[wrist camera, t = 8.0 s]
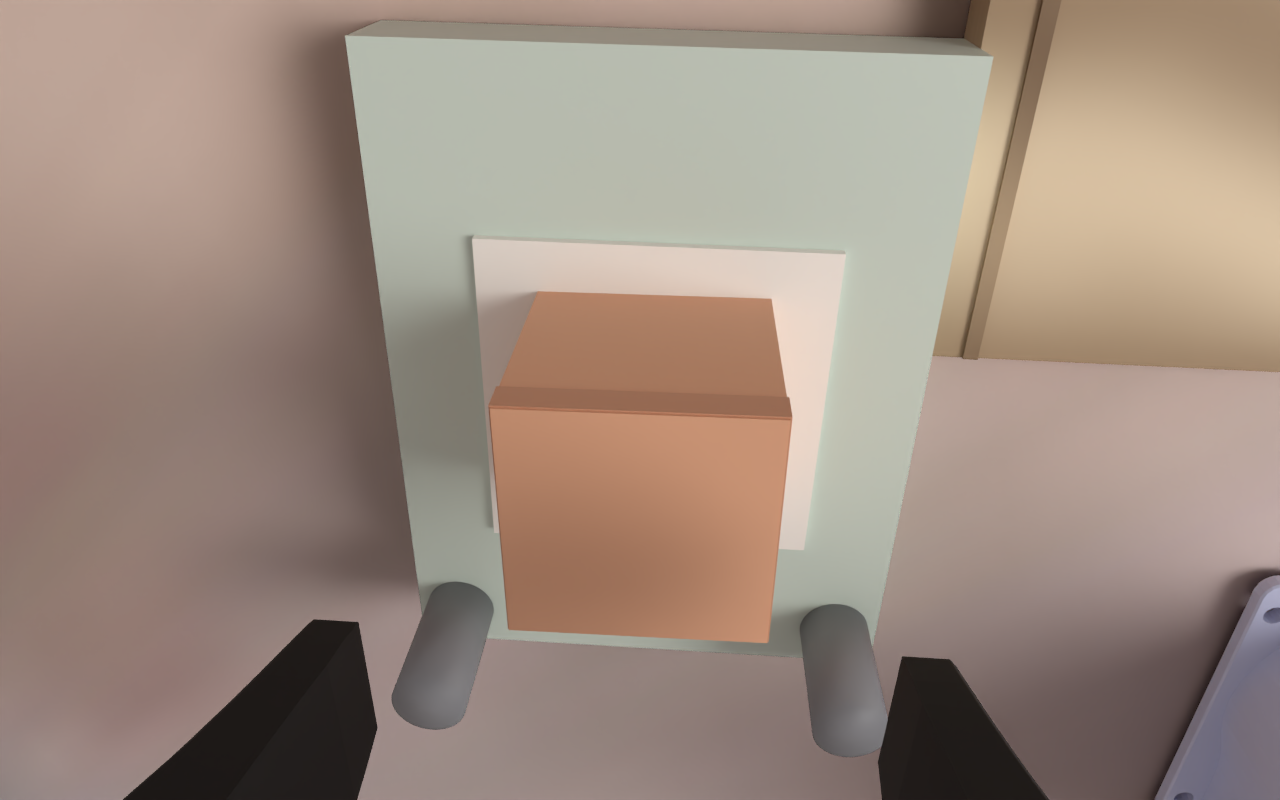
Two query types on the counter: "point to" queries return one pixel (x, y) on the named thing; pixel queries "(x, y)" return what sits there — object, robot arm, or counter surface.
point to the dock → (666, 285)
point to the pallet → (1122, 186)
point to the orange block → (642, 466)
